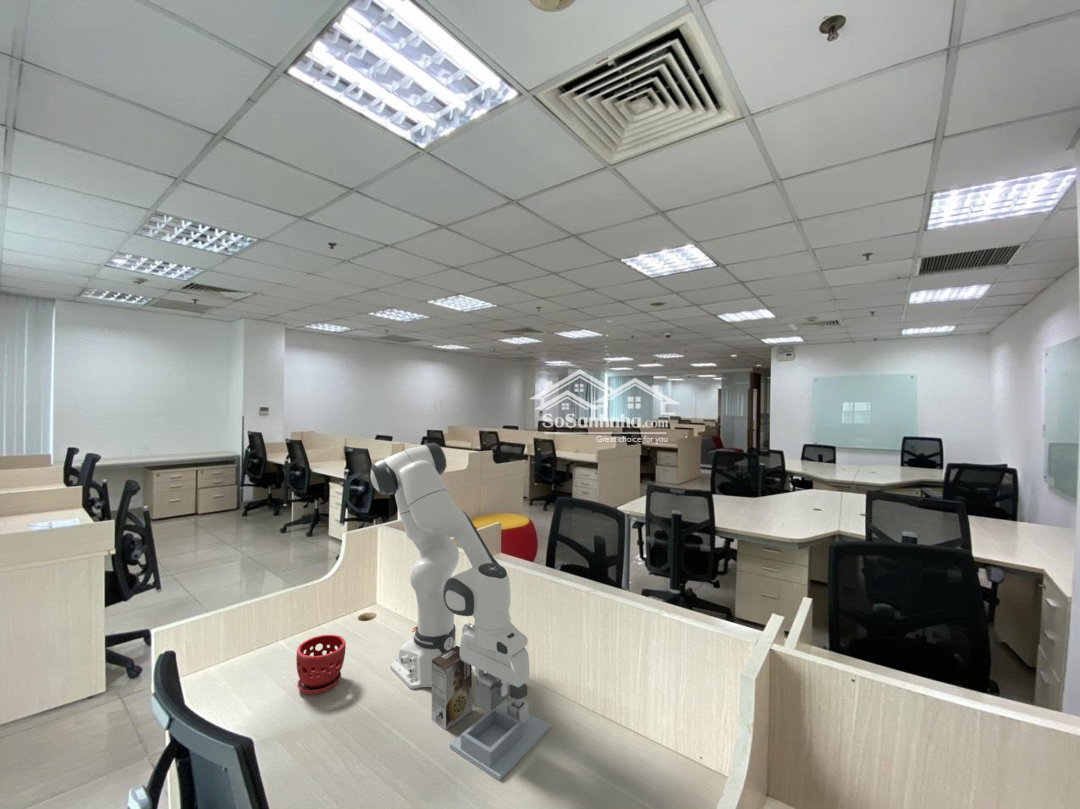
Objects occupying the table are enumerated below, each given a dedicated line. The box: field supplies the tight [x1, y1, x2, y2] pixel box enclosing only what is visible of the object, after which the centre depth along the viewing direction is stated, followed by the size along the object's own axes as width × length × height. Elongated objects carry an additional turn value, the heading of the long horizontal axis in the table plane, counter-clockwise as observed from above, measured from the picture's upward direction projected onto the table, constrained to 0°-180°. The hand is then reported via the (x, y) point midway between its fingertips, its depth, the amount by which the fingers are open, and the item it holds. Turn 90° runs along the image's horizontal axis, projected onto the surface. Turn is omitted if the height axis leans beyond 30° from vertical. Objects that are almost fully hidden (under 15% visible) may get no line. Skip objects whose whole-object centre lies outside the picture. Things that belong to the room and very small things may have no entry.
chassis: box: [449, 698, 551, 782], centre depth 111 cm, size 16×20×5 cm
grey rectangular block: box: [474, 672, 511, 712], centre depth 108 cm, size 5×7×6 cm
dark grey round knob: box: [509, 683, 529, 708], centre depth 116 cm, size 5×5×5 cm
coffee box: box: [431, 645, 473, 730], centre depth 119 cm, size 9×6×16 cm
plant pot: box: [295, 634, 347, 695], centre depth 132 cm, size 13×13×12 cm
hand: (492, 689), depth 108 cm, fingers closed on grey rectangular block, 5 cm apart
